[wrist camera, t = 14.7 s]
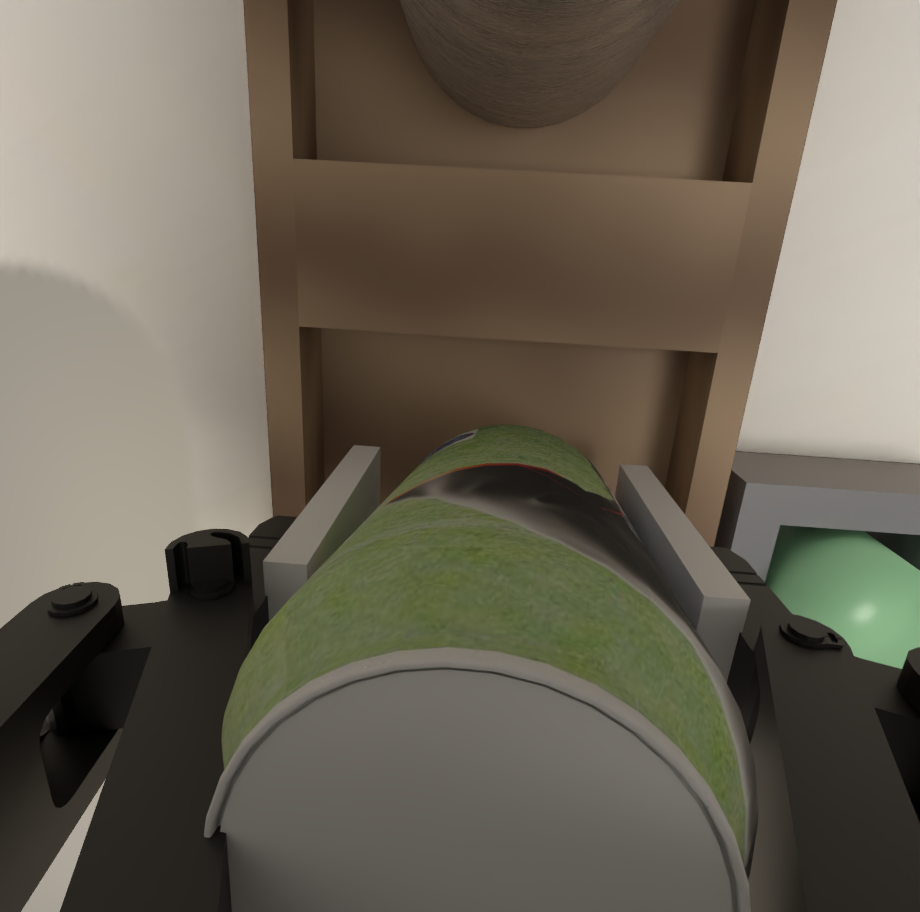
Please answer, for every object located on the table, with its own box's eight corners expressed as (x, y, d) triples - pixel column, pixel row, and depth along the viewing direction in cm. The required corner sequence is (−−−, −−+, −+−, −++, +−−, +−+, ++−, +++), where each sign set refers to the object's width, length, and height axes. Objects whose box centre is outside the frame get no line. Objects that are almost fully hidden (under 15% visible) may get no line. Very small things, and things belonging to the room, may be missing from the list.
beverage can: (473, 635, 18) (436, 1288, 6) (334, 448, 16) (-57, 890, 5) (653, 542, 16) (1016, 1165, 5) (523, 326, 15) (624, 533, 3)
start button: (742, 494, 19) (816, 559, 15) (863, 502, 19) (972, 572, 15) (718, 596, 20) (779, 684, 16) (831, 605, 20) (923, 696, 16)
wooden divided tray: (255, -293, 13) (192, -445, 10) (859, -277, 13) (964, -433, 10) (295, 587, 21) (264, 637, 18) (672, 617, 21) (701, 674, 18)
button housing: (707, 449, 18) (746, 482, 16) (925, 464, 18) (1006, 501, 15) (670, 629, 21) (698, 686, 18) (863, 644, 20) (923, 705, 18)
